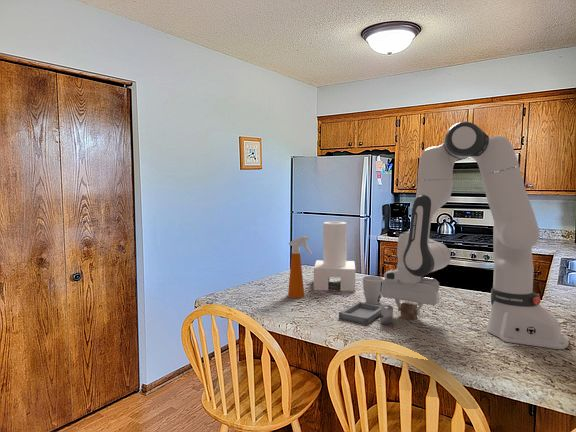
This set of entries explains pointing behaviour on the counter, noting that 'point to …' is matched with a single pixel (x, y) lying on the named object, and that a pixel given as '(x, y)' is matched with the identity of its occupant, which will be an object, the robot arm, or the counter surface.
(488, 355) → the counter surface
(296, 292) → the spray bottle
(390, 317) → the metal cylinder
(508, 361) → the counter surface
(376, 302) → the cup
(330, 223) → the white cylinder stand
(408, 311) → the walnut block
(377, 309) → the parts tray
